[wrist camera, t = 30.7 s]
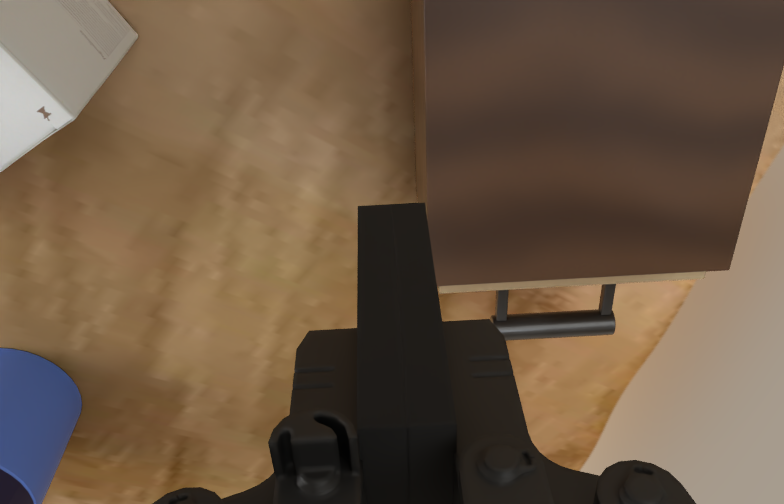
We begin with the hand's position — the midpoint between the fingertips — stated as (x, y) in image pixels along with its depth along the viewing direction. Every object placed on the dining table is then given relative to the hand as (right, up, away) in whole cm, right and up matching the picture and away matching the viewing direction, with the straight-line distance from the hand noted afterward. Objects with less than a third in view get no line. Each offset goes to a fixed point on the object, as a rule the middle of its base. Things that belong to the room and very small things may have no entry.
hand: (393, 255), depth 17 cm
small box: (-18, +11, +21) cm, 30 cm away
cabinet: (+8, +11, +23) cm, 26 cm away
